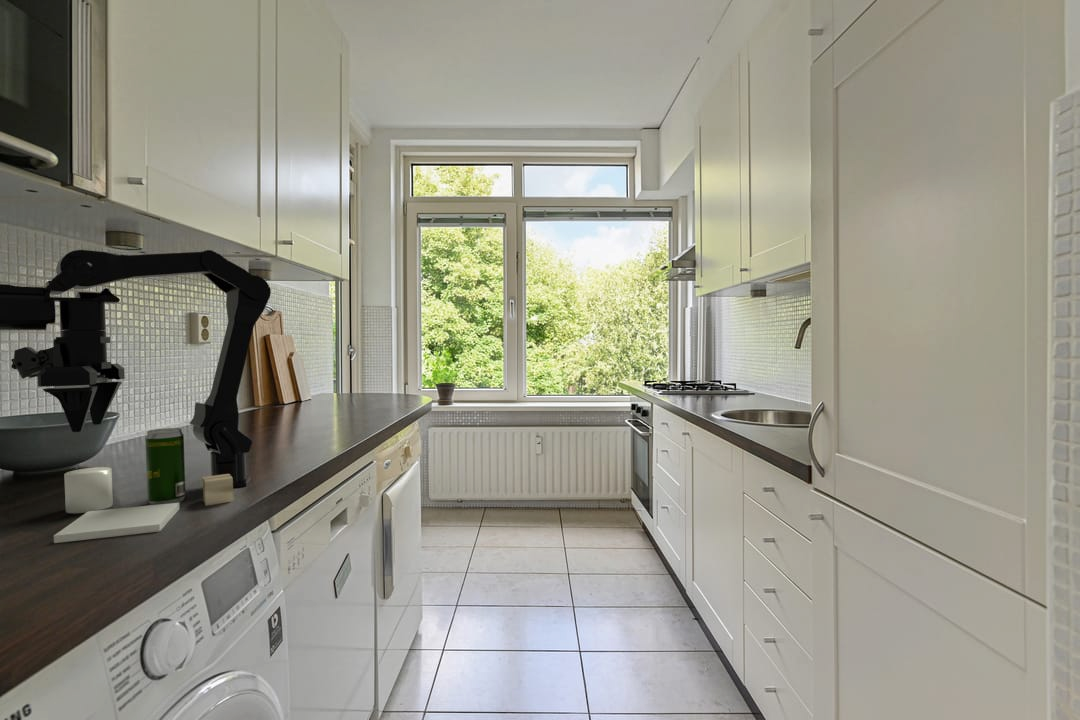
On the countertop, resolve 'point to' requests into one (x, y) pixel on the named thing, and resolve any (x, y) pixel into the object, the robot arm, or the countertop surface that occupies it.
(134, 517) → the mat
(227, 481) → the maple block
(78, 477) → the rounded cream cube
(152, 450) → the beer can
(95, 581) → the countertop surface
